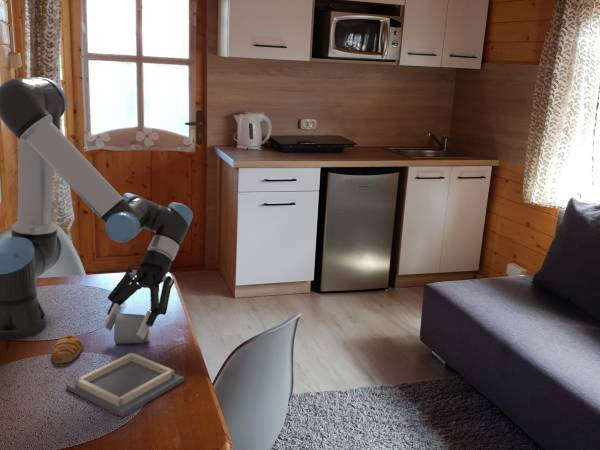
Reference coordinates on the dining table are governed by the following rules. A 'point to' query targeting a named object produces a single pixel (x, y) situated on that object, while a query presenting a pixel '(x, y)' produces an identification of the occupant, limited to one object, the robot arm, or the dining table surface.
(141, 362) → the tray
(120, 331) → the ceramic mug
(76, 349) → the pastry
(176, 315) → the dining table surface
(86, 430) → the dining table surface
